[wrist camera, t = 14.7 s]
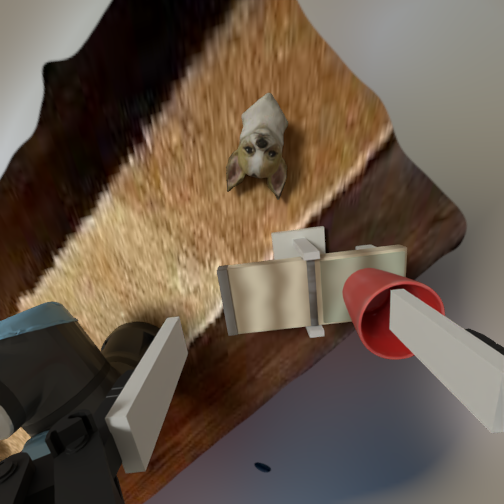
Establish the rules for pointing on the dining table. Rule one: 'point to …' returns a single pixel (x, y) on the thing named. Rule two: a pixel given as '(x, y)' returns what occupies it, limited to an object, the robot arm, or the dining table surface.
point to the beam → (297, 288)
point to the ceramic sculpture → (260, 146)
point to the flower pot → (381, 308)
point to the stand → (303, 252)
